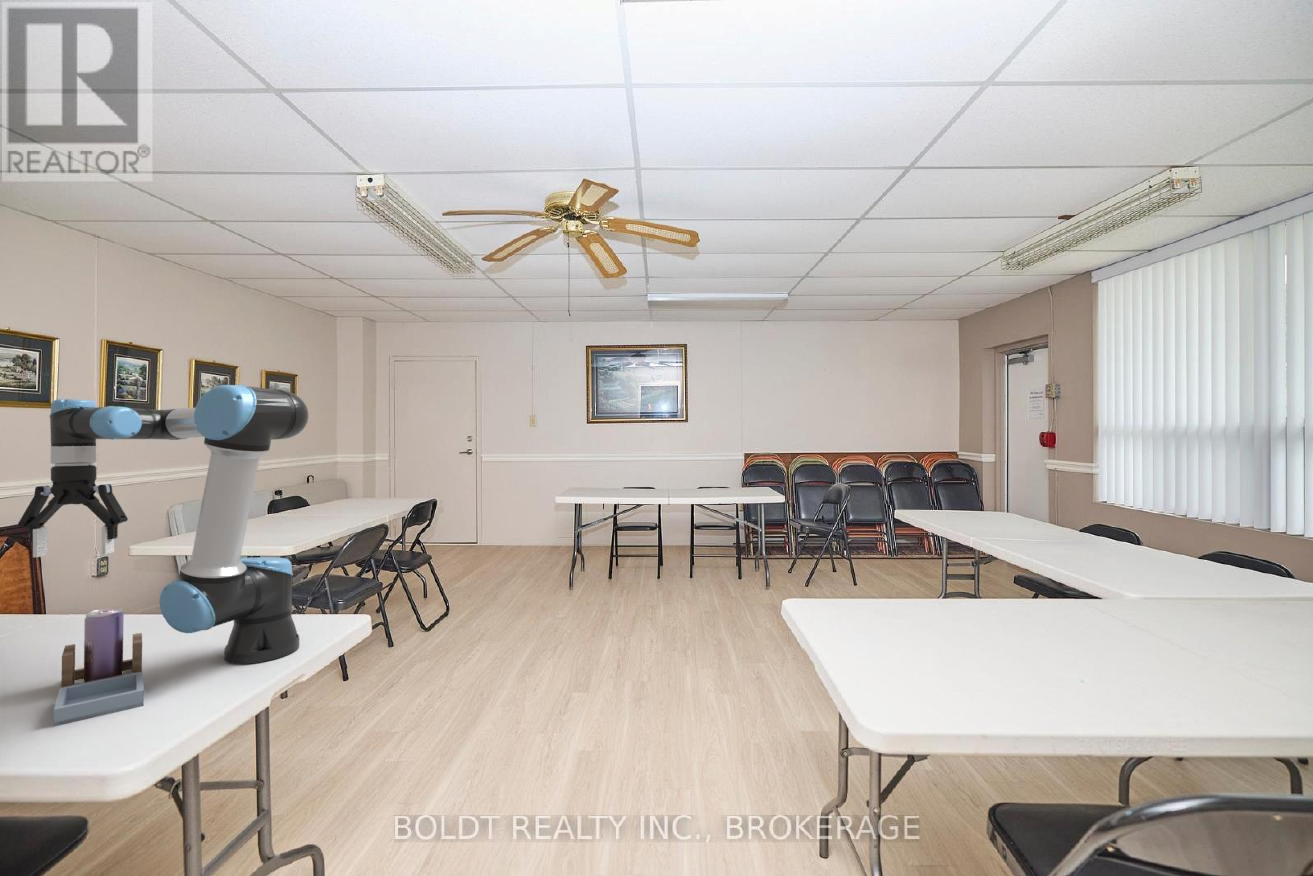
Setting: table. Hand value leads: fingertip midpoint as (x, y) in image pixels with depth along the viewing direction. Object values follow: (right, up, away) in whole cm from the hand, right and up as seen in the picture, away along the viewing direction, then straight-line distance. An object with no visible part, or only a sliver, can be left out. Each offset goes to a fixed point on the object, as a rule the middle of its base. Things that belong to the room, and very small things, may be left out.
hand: (74, 554), depth 133 cm
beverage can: (+19, -25, -12) cm, 33 cm away
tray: (+29, -25, -23) cm, 44 cm away
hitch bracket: (+19, -25, -12) cm, 33 cm away
